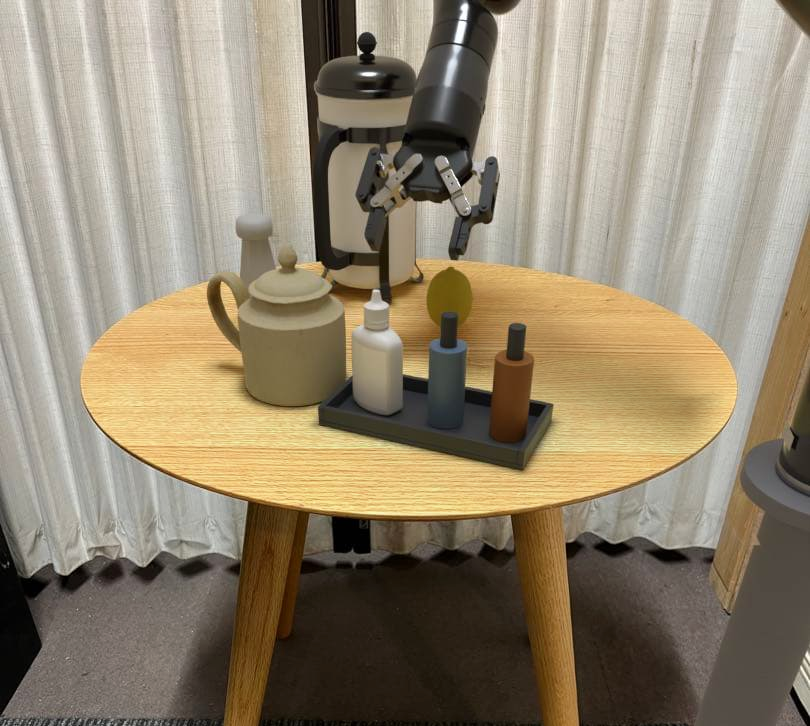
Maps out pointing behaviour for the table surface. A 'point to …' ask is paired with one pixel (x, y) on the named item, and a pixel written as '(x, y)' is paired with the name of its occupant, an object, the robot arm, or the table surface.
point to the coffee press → (361, 168)
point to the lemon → (449, 295)
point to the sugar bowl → (285, 332)
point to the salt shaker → (254, 246)
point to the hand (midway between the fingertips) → (412, 252)
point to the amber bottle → (511, 388)
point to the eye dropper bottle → (377, 360)
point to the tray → (418, 432)
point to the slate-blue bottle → (447, 375)
